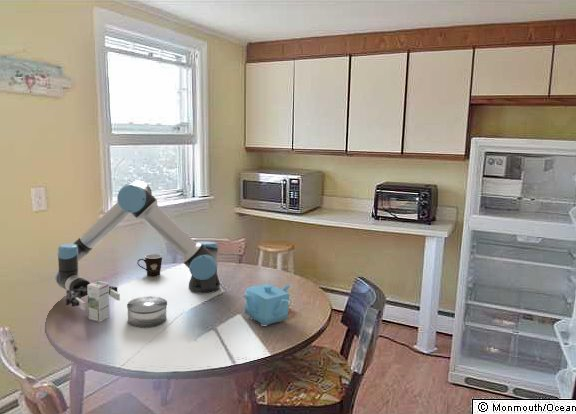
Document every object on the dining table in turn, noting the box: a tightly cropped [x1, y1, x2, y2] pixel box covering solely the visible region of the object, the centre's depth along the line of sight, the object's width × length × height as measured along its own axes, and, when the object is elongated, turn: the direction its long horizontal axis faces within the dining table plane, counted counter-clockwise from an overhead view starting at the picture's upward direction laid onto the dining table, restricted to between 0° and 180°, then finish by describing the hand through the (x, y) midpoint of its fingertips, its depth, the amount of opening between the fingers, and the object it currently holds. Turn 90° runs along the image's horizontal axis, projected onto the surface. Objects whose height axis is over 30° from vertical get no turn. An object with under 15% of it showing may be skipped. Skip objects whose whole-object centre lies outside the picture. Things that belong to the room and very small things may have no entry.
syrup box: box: [87, 280, 110, 323], centre depth 163 cm, size 6×6×14 cm
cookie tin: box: [126, 295, 168, 329], centre depth 165 cm, size 15×15×7 cm
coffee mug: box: [136, 253, 163, 278], centre depth 217 cm, size 12×9×10 cm
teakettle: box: [241, 283, 292, 325], centre depth 171 cm, size 19×19×15 cm
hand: (101, 301), depth 160 cm, fingers open, 13 cm apart
